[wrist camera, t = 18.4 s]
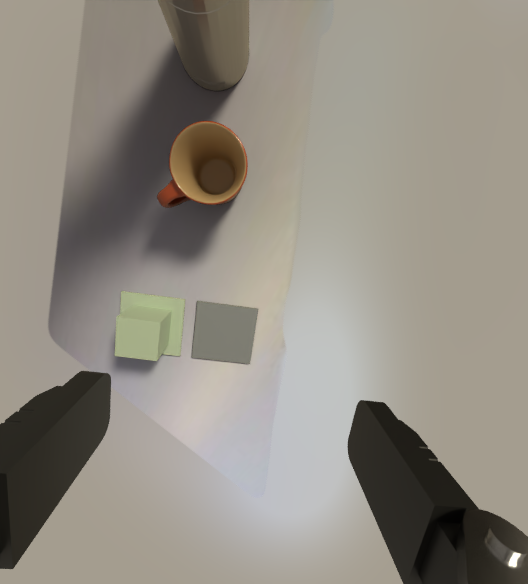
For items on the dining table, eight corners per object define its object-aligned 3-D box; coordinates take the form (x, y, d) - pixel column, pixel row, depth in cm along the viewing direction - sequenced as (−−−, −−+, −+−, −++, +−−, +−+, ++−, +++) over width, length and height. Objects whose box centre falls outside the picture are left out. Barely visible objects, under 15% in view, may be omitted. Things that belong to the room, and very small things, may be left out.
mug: (226, 135, 40) (219, 103, 30) (258, 189, 42) (262, 177, 32) (158, 181, 40) (128, 165, 30) (193, 232, 42) (175, 234, 32)
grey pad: (197, 300, 45) (197, 301, 45) (258, 308, 46) (258, 309, 45) (192, 356, 47) (191, 357, 47) (249, 363, 48) (249, 363, 48)
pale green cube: (134, 304, 44) (116, 316, 38) (171, 310, 45) (160, 322, 39) (131, 339, 45) (114, 355, 40) (168, 344, 46) (157, 361, 40)
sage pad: (121, 291, 44) (121, 291, 44) (185, 299, 45) (184, 299, 44) (119, 348, 46) (119, 349, 46) (180, 355, 47) (179, 356, 47)
